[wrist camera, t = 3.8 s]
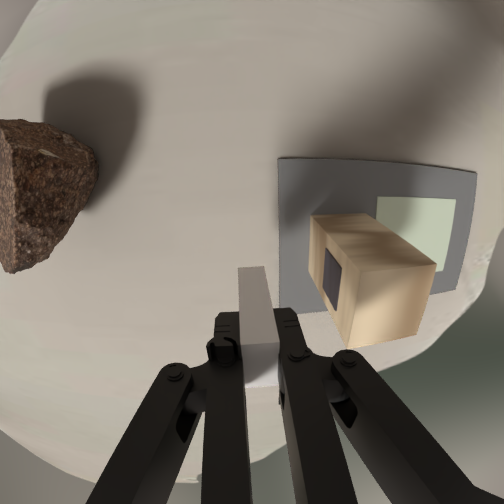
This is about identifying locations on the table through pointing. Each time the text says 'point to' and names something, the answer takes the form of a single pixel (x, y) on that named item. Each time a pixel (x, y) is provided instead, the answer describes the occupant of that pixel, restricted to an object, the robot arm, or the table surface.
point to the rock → (39, 189)
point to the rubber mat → (372, 215)
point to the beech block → (368, 278)
